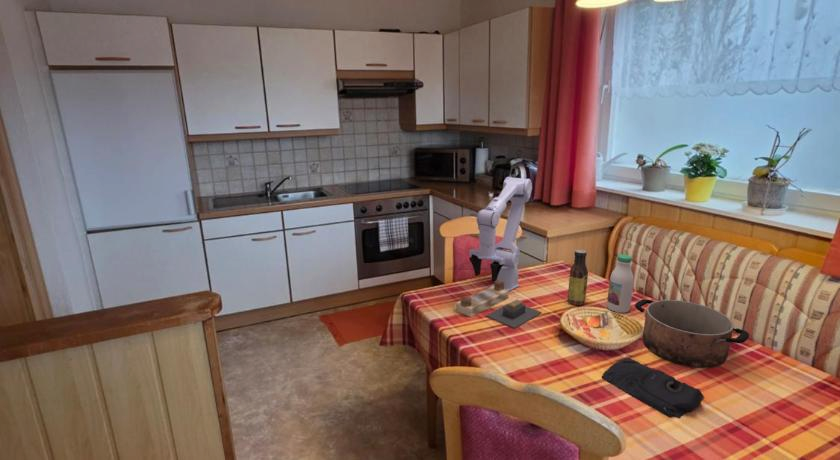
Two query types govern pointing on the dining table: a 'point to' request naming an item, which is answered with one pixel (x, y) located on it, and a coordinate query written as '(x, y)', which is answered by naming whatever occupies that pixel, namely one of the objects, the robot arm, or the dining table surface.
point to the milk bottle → (621, 285)
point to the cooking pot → (688, 333)
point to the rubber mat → (517, 321)
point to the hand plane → (482, 299)
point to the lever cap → (514, 309)
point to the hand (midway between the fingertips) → (485, 277)
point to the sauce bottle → (578, 279)
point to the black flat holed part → (653, 388)
